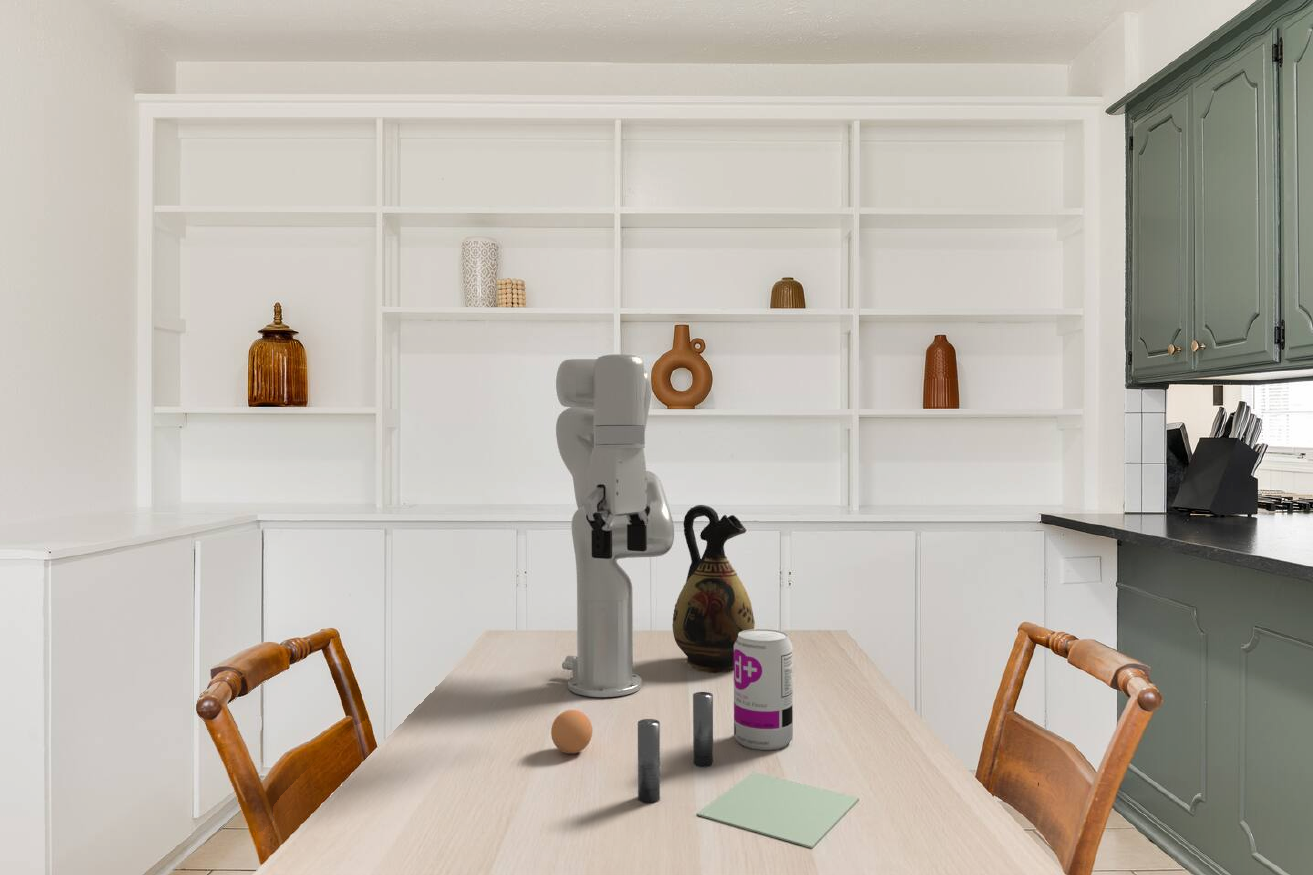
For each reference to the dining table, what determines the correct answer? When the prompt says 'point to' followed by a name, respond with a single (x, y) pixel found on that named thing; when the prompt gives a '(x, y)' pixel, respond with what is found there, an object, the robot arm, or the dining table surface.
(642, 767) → the post
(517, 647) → the dining table surface
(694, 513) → the ceramic jug
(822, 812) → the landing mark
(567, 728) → the ball
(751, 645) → the supplement can
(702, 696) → the post
